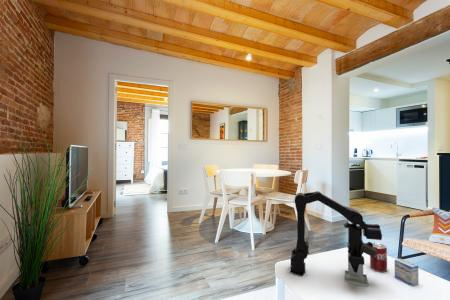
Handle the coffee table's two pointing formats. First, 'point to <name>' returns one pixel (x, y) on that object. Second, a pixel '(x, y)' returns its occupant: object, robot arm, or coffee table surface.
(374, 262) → the soda can
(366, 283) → the grey green tray
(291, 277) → the coffee table surface
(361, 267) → the billet
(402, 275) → the medicine box
